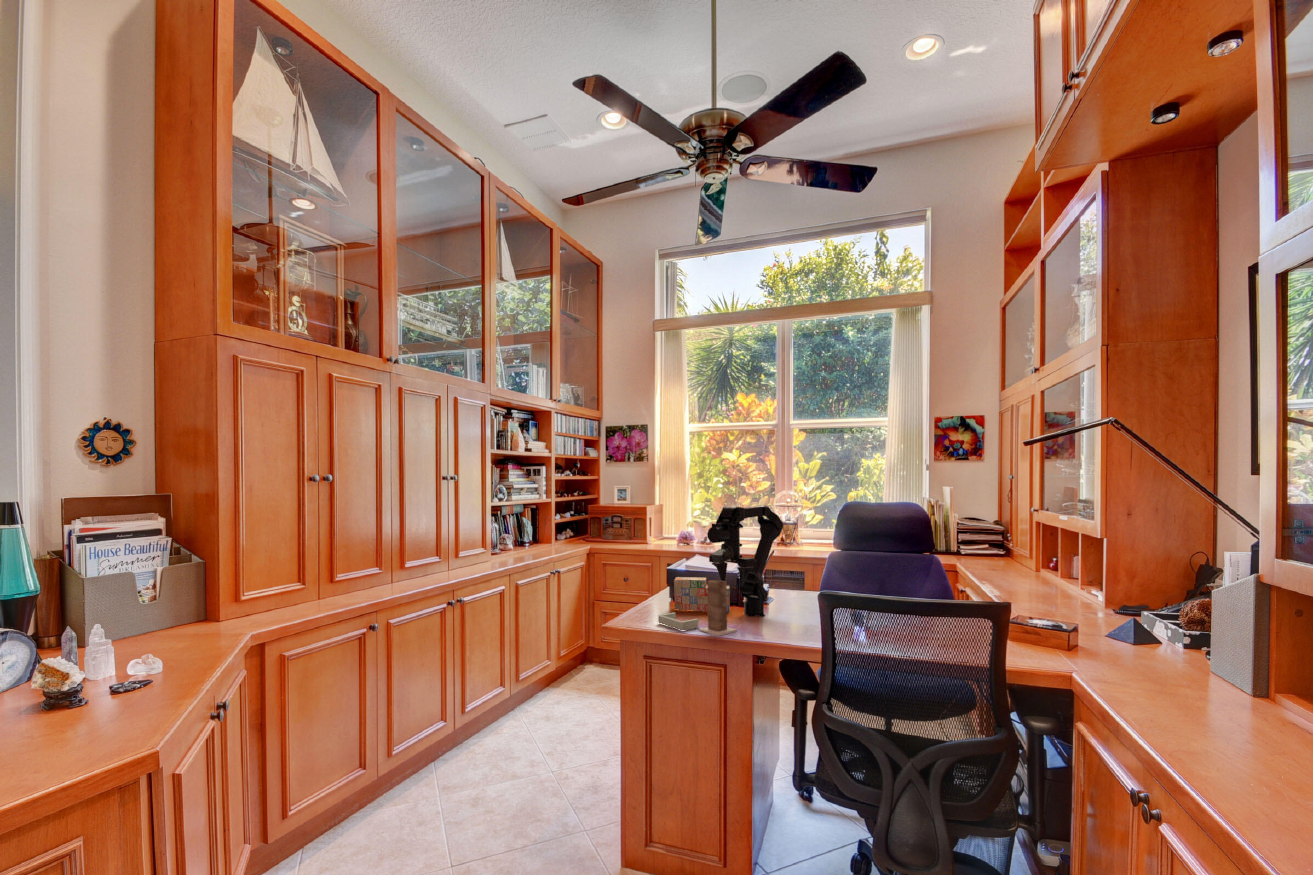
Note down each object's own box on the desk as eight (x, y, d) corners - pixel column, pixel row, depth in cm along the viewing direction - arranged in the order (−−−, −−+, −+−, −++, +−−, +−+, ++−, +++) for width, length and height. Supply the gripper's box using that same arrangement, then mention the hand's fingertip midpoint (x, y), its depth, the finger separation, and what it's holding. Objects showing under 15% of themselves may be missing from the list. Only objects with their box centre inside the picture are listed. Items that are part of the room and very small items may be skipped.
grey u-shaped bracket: (674, 620, 207) (674, 612, 207) (698, 627, 197) (698, 618, 197) (658, 624, 202) (658, 615, 202) (682, 631, 192) (682, 622, 192)
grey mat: (717, 626, 199) (717, 624, 199) (736, 631, 192) (736, 629, 192) (698, 630, 193) (698, 628, 193) (717, 636, 186) (717, 634, 186)
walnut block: (717, 626, 196) (717, 579, 197) (727, 629, 192) (726, 581, 193) (708, 628, 193) (707, 580, 194) (717, 631, 190) (717, 582, 191)
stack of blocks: (730, 609, 224) (729, 578, 225) (729, 613, 218) (728, 580, 219) (676, 607, 228) (676, 576, 229) (674, 611, 222) (673, 579, 223)
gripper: (698, 540, 211) (698, 583, 210) (735, 544, 196) (735, 590, 195) (719, 538, 218) (719, 579, 217) (756, 542, 203) (757, 586, 202)
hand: (732, 584), depth 208 cm, fingers open, 9 cm apart
